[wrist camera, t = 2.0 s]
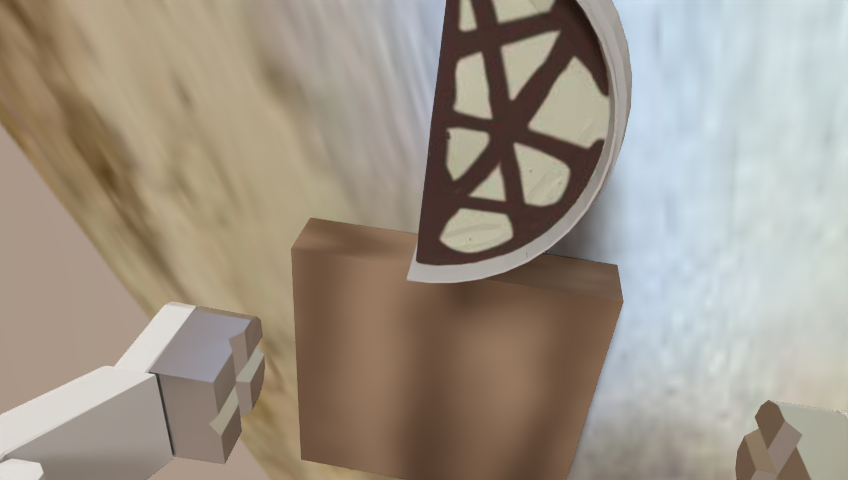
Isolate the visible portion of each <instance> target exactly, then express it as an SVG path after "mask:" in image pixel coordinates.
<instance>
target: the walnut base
mask: <svg viewBox="0 0 848 480" xmlns="http://www.w3.org/2000/svg"><path fill="white" fill-rule="evenodd" d="M417 242H418V234H412V233H406V232H399V231H393V230H386V229H380V228H373V227H367V226H360V225H354V224H347V223H341V222H334V221H328V220H321V219H315V218H310V219H309V221H308V223H307V224H306V226H305V227H304V229H303V231H302V232H301V234H300V235H299V237H298V238H297V240H296V242H295V243H294V245H293V246H292V248H291V255H292V276H293V297H294V318H295V339H296V360H297V381H298V402H299V423H300V444H301V459H302V460H307V461H312V462H317V463H323V464H328V465H333V466H338V467H343V468H349V469H354V470H359V471H364V472H369V473H375V474H380V475H385V476H390V477H395V478H401V479H406V480H566V479H567V476H568V473H569V470H570V466H571V463H572V460H573V457H574V454H575V451H576V448H577V445H578V442H579V438H580V435H581V432H582V429H583V426H584V423H585V420H586V417H587V413H588V410H589V407H590V404H591V401H592V398H593V395H594V392H595V389H596V385H597V382H598V379H599V376H600V373H601V370H602V367H603V364H604V360H605V357H606V354H607V351H608V348H609V345H610V342H611V339H612V336H613V332H614V329H615V326H616V323H617V320H618V317H619V314H620V311H621V307H622V304H623V296H622V290H621V284H620V278H619V272H618V267H617V265H614V264H607V263H601V262H594V261H588V260H581V259H575V258H568V257H562V256H555V255H549V254H542V253H541V254H540V255H538V256H537V257H535V258H533V259H532V260H530V261H529V262H527V263H524V264H522V265H520V266H518V267H515V268H513V269H511V270H509V271H506V272H504V273H500V274H497V275H493V276H490V277H486V278H483V279H478V280H471V281H464V282H457V283H425V282H417V281H408V280H407V276H408V272H409V269H410V266H411V262H412V259H413V255H414V252H415V248H416V245H417Z"/></svg>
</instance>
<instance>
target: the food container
mask: <svg viewBox="0 0 848 480" xmlns="http://www.w3.org/2000/svg"><path fill="white" fill-rule="evenodd" d="M631 88H632V72H631V65H630V57H629V50H628V43H627V40H626V37H625V34H624V30H623V27H622V24H621V21H620V18H619V15H618V12H617V10H616V8H615V6H614V4H613V2H612V0H446V8H445V16H444V24H443V32H442V41H441V49H440V58H439V67H438V74H437V82H436V89H435V97H434V105H433V112H432V120H431V129H430V138H429V148H428V158H427V167H426V175H425V183H424V191H423V199H422V208H421V216H420V225H419V233H418V242H417V245H416V248H415V252H414V255H413V259H412V262H411V266H410V269H409V272H408V276H407V280H408V281H417V282H425V283H457V282H464V281H471V280H478V279H483V278H486V277H490V276H493V275H497V274H500V273H504V272H506V271H509V270H511V269H513V268H515V267H518V266H520V265H522V264H524V263H527V262H529V261H530V260H532V259H533V258H535V257H537V256H538V255H540V254H541V253H543V252H544V251H546V250H548V249H549V248H551V247H552V246H553V245H554V244H555V243H556V242H558V241H559V240H560V239H561V238H562V237H563V236H564V235H566V234H567V233H568V232H569V231H570V230H571V229H572V228H573V227H575V226H576V225H577V224H578V222H579V221H580V220H581V219H582V218H583V217H584V215H585V214H586V213H587V212H588V211H589V209H590V208H591V207H592V206H593V205H594V203H595V202H596V200H597V198H598V197H599V195H600V193H601V192H602V190H603V188H604V187H605V185H606V184H607V182H608V180H609V178H610V175H611V173H612V170H613V168H614V165H615V163H616V160H617V158H618V155H619V152H620V149H621V146H622V143H623V140H624V136H625V132H626V127H627V122H628V117H629V113H630V108H631Z"/></svg>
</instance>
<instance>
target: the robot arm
mask: <svg viewBox="0 0 848 480" xmlns="http://www.w3.org/2000/svg"><path fill="white" fill-rule="evenodd" d="M261 337H262V327H261V320H260V319H259V318H257V317H255V316H250V315H245V314H239V313H234V312H229V311H223V310H218V309H213V308H208V307H202V306H200V307H198V306H193V305H188V304H183V303H178V302H173V301H172V302H170V303H168V304H166V305H164V306H163V307H162V308H161V310H160V311H159V312H158V313H157V314H156V316H155V317H154V318H153V319H152V321H151V322H150V323H149V324H148V326H147V327H146V328H145V329H144V330H143V332H142V333H141V334H140V335H139V336H138V338H137V339H136V340H135V342H134V343H133V344H132V345H131V347H130V348H129V349H128V350H127V351H126V352H125V354H124V355H123V356H122V357H121V359H120V360H119V361H118V362H117V363H116V365H115V366H114V367H110V366H103V367H101V368H99V369H97V370H95V371H92V372H90V373H88V374H86V375H84V376H82V377H80V378H77V379H75V380H73V381H71V382H69V383H67V384H65V385H63V386H61V387H59V388H56V389H54V390H52V391H50V392H48V393H46V394H44V395H41V396H39V397H37V398H35V399H33V400H31V401H29V402H26V403H24V404H22V405H20V406H18V407H16V408H14V409H12V410H10V411H8V412H5V413H3V414H1V415H0V480H147V479H148V478H149V477H151V476H152V475H153V474H155V473H156V472H157V471H159V470H160V469H161V468H163V467H164V466H165V465H167V464H168V463H169V462H171V461H172V460H173V456H174V457H181V458H187V459H194V460H200V461H206V462H213V463H220V464H225V463H226V461H227V459H228V457H229V455H230V453H231V451H232V449H233V447H234V446H235V444H236V442H237V440H238V438H239V436H240V434H241V432H242V429H241V419H240V417H242V416H244V415H245V414H247V413H249V412H250V411H252V410H253V408H254V406H255V404H256V401H257V399H258V397H259V394H260V391H261V387H262V384H263V380H264V370H265V361H264V355H263V353H262V352H261V351H260V350H259V349H258V347H257V345H258V343H259V341H260V339H261ZM755 419H756V421H757V424H758V427H759V429H757V430H755V431H753V432H752V433H750V434H748V435H746V436H744V438H743V440H742V442H741V445H740V447H739V449H738V451H737V459H736V467H735V469H736V477H737V480H848V412H845V411H838V410H837V411H833V410H829V409H823V408H816V407H810V406H803V405H797V404H790V403H784V402H777V401H771V400H768V401H767V402H765V403H764V404H763V405H761V407H760V409H759V410H758V412H757V414H756V416H755Z"/></svg>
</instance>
